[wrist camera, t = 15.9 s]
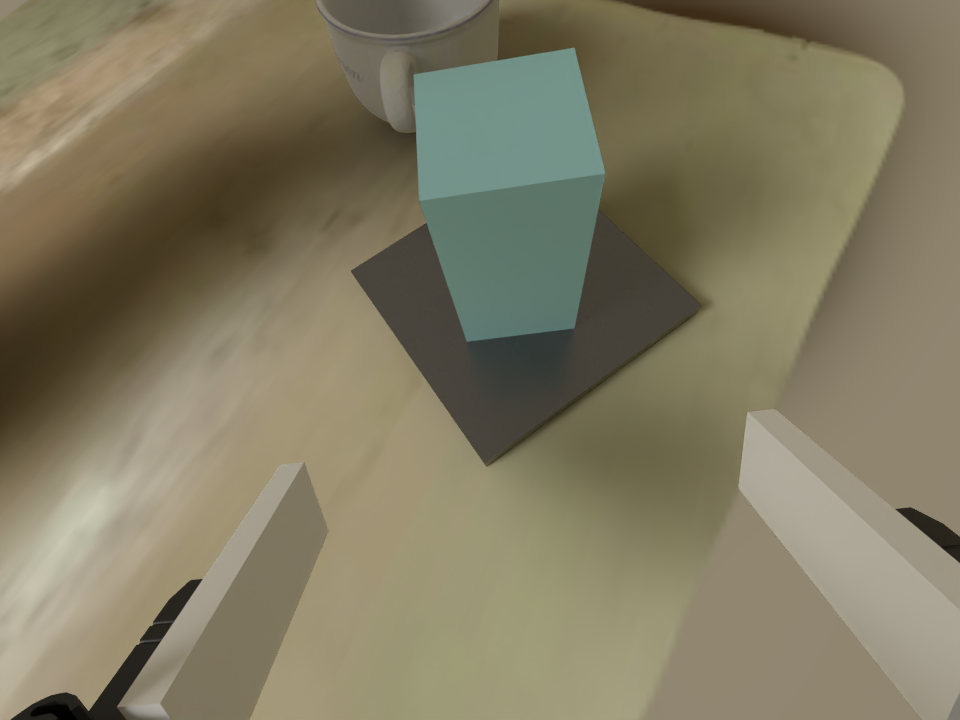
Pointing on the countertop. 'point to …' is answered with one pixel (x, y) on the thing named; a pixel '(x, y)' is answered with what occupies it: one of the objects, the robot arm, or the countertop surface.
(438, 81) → the teal upright box
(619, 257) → the gray square peg stand
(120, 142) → the countertop surface
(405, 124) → the teacup
